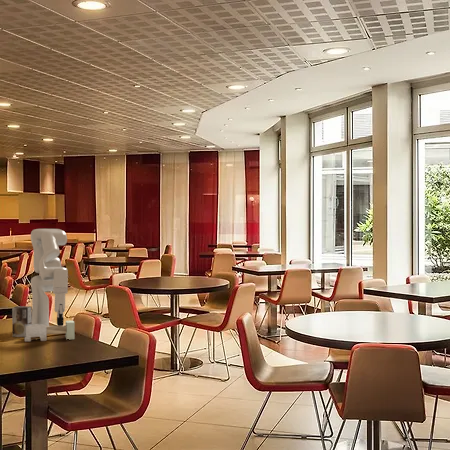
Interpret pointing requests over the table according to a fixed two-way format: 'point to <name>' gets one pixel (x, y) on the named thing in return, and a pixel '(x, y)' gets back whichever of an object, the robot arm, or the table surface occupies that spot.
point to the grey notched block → (35, 331)
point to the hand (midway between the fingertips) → (60, 324)
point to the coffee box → (20, 320)
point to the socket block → (70, 329)
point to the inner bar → (56, 329)
